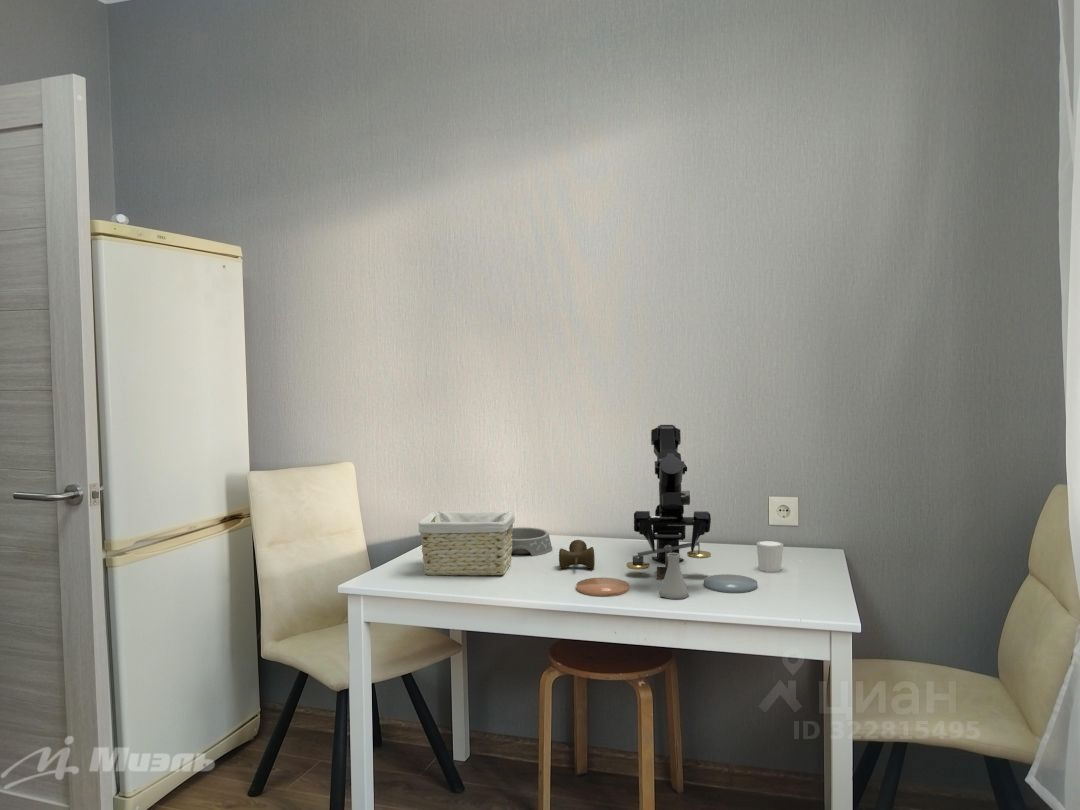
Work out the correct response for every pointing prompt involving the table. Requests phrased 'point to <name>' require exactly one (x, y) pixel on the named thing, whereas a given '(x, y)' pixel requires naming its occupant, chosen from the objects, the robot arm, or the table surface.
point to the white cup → (769, 555)
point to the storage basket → (466, 542)
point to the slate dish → (730, 583)
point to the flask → (673, 580)
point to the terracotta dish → (602, 586)
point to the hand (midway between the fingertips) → (673, 551)
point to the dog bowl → (530, 541)
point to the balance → (661, 571)
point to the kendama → (577, 555)
